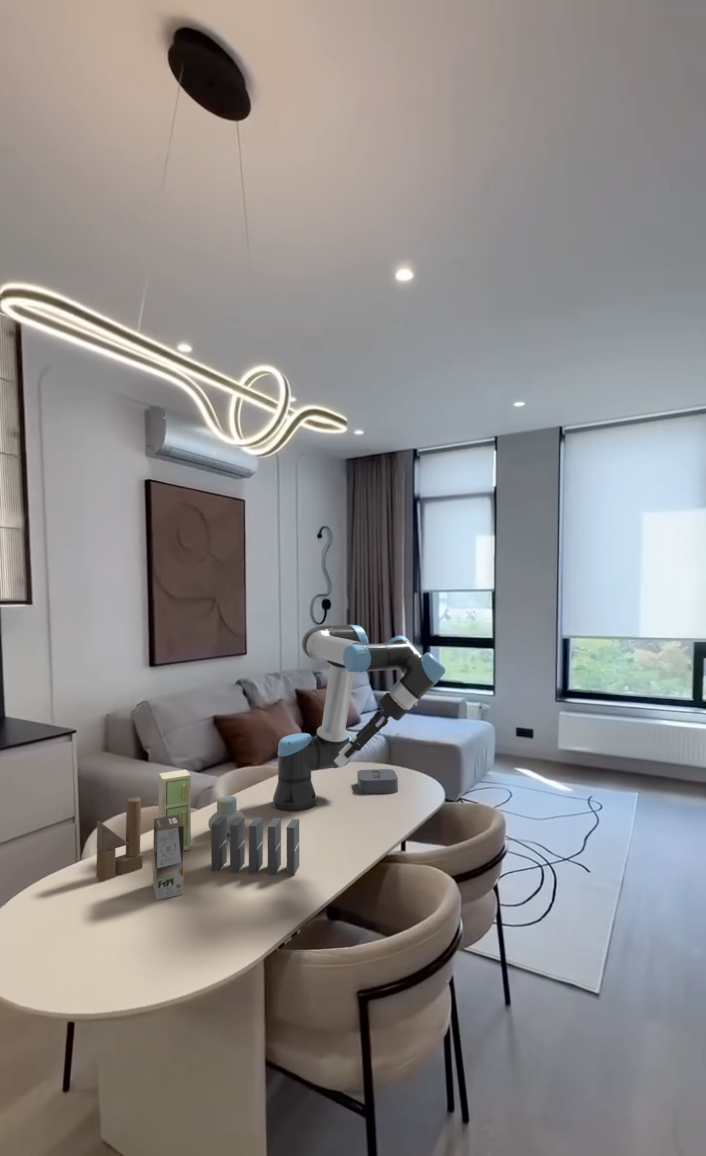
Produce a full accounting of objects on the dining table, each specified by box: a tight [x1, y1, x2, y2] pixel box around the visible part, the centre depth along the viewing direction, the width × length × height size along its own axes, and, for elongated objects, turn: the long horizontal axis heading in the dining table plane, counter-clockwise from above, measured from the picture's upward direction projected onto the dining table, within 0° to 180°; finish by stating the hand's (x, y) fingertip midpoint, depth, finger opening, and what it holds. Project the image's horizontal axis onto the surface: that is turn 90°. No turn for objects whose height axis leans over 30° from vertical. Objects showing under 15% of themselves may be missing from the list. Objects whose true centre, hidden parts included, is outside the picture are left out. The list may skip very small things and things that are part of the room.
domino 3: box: [248, 817, 264, 875], centre depth 150 cm, size 2×6×12 cm, turn 173°
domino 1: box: [210, 816, 228, 873], centre depth 151 cm, size 2×6×12 cm, turn 173°
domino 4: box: [267, 817, 282, 876], centre depth 149 cm, size 2×6×12 cm, turn 173°
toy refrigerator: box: [158, 769, 192, 851], centre depth 163 cm, size 8×7×21 cm
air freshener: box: [207, 795, 245, 836], centre depth 175 cm, size 11×8×10 cm
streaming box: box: [356, 768, 399, 795], centre depth 217 cm, size 14×14×5 cm
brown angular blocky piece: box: [95, 796, 144, 882], centre depth 148 cm, size 4×11×18 cm, turn 135°
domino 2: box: [229, 816, 246, 874], centre depth 150 cm, size 2×6×12 cm, turn 173°
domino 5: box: [286, 818, 300, 877], centre depth 148 cm, size 2×6×12 cm, turn 173°
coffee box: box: [152, 815, 185, 901], centre depth 139 cm, size 9×6×16 cm
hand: (339, 760), depth 155 cm, fingers open, 8 cm apart
